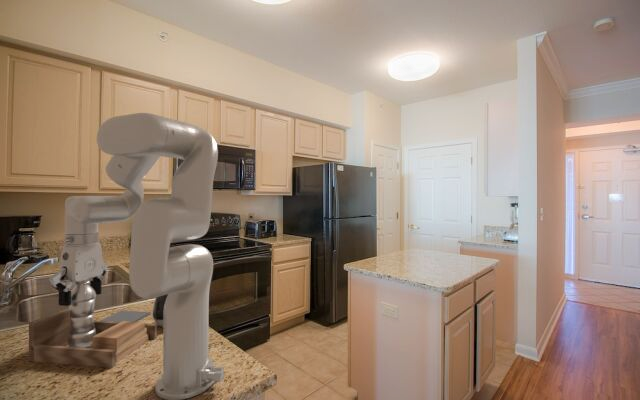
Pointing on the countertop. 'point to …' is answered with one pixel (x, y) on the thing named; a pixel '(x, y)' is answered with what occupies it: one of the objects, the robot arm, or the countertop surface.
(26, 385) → the countertop surface
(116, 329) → the offcut stack
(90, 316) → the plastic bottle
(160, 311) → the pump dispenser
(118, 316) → the mat
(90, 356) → the rack
